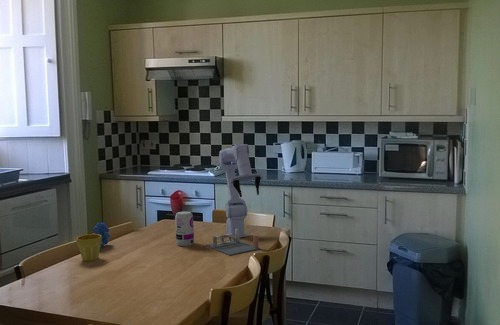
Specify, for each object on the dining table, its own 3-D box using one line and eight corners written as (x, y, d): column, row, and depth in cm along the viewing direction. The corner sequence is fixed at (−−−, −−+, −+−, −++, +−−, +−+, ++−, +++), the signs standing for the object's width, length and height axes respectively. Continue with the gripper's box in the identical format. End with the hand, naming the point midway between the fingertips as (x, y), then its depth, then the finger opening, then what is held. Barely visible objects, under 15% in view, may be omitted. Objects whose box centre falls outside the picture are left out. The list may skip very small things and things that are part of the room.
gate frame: (205, 245, 239) (205, 230, 239) (235, 240, 248) (234, 225, 247) (229, 255, 222) (228, 239, 221) (260, 249, 231) (259, 233, 230)
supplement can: (195, 241, 247) (194, 210, 246) (192, 246, 239) (190, 214, 238) (178, 242, 248) (177, 211, 246) (174, 246, 240) (173, 214, 238)
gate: (234, 242, 240) (233, 232, 240) (235, 242, 239) (235, 233, 239) (213, 246, 234) (212, 236, 234) (214, 246, 233) (214, 237, 233)
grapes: (102, 250, 237) (100, 224, 236) (89, 249, 239) (88, 224, 238) (117, 244, 248) (115, 219, 246) (105, 243, 250) (103, 218, 249)
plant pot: (95, 262, 218) (94, 240, 217) (73, 262, 220) (71, 239, 219) (107, 255, 228) (105, 234, 227) (85, 255, 230) (84, 233, 229)
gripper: (228, 165, 230) (233, 193, 224) (260, 161, 232) (266, 189, 225) (228, 173, 236) (233, 200, 230) (259, 169, 238) (265, 195, 232)
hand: (249, 195), depth 228 cm, fingers open, 7 cm apart
